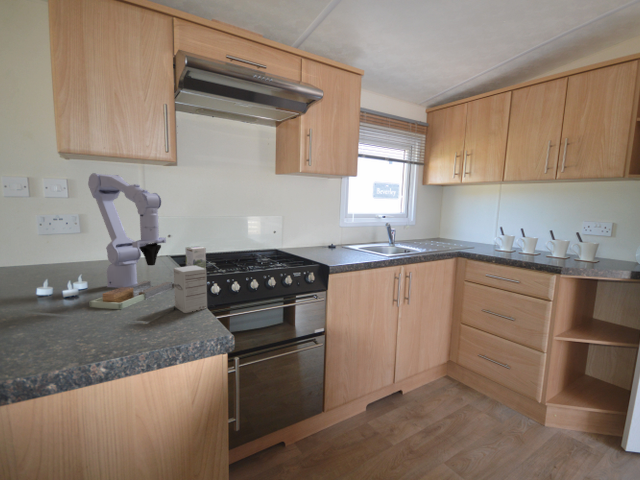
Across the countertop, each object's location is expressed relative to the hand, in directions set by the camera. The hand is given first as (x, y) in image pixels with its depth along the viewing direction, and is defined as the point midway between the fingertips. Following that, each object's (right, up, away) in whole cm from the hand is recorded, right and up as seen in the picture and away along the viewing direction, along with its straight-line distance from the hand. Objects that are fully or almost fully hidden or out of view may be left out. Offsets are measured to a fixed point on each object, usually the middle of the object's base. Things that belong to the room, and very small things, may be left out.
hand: (151, 265), depth 115 cm
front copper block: (-3, -11, -15) cm, 19 cm away
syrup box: (+10, -9, +16) cm, 21 cm away
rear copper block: (-3, -11, -11) cm, 16 cm away
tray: (-3, -11, -13) cm, 18 cm away
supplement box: (+21, -12, -16) cm, 29 cm away
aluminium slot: (-1, -10, -2) cm, 10 cm away
